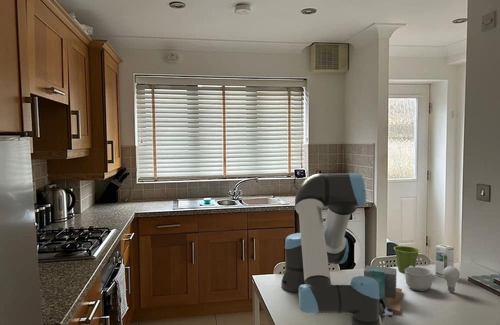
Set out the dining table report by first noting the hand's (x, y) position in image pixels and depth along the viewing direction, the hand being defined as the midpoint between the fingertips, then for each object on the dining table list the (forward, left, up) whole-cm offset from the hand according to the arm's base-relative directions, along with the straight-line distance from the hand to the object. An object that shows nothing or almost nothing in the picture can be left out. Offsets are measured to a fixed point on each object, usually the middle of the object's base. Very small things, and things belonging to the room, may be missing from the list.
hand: (376, 291), depth 130 cm
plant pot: (+9, +56, -9) cm, 57 cm away
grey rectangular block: (0, +18, -7) cm, 20 cm away
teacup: (+14, +35, -9) cm, 39 cm away
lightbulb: (+27, +34, -9) cm, 45 cm away
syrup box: (+26, +55, -9) cm, 62 cm away
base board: (0, +15, -8) cm, 17 cm away
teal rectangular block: (0, +10, -5) cm, 12 cm away
